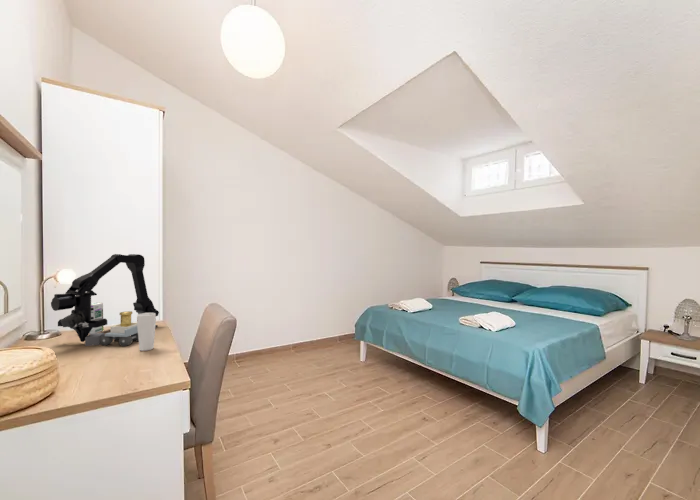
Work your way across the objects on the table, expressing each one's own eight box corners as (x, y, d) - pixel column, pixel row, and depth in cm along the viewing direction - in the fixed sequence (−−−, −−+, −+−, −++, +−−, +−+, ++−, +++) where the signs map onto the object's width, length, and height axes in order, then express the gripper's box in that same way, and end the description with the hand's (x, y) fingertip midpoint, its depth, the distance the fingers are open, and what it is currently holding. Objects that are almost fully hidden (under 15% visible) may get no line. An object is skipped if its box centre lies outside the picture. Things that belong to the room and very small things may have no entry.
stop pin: (124, 327, 149) (124, 311, 149) (134, 328, 149) (134, 311, 149) (116, 330, 144) (116, 313, 144) (127, 331, 144) (127, 313, 144)
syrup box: (94, 333, 159) (94, 304, 159) (82, 333, 159) (82, 304, 159) (103, 330, 165) (103, 302, 165) (92, 330, 165) (92, 302, 165)
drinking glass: (133, 350, 136) (133, 314, 135) (149, 345, 142) (149, 311, 141) (142, 352, 133) (142, 316, 132) (159, 348, 139) (159, 313, 138)
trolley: (116, 338, 151) (116, 323, 151) (144, 339, 150) (144, 324, 150) (98, 345, 141) (98, 329, 141) (127, 346, 140) (127, 330, 140)
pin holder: (108, 333, 161) (108, 329, 160) (124, 333, 160) (124, 329, 160) (95, 337, 153) (95, 333, 152) (111, 338, 152) (111, 334, 152)
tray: (124, 328, 151) (124, 322, 151) (140, 328, 150) (140, 322, 150) (110, 332, 143) (110, 326, 143) (127, 333, 142) (127, 327, 142)
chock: (90, 342, 146) (90, 333, 146) (104, 341, 148) (104, 332, 148) (85, 346, 141) (85, 337, 141) (99, 344, 142) (99, 336, 142)
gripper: (44, 309, 136) (44, 346, 136) (86, 311, 134) (86, 348, 135) (69, 304, 147) (69, 338, 147) (108, 305, 145) (108, 340, 146)
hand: (82, 341), depth 143 cm, fingers closed
